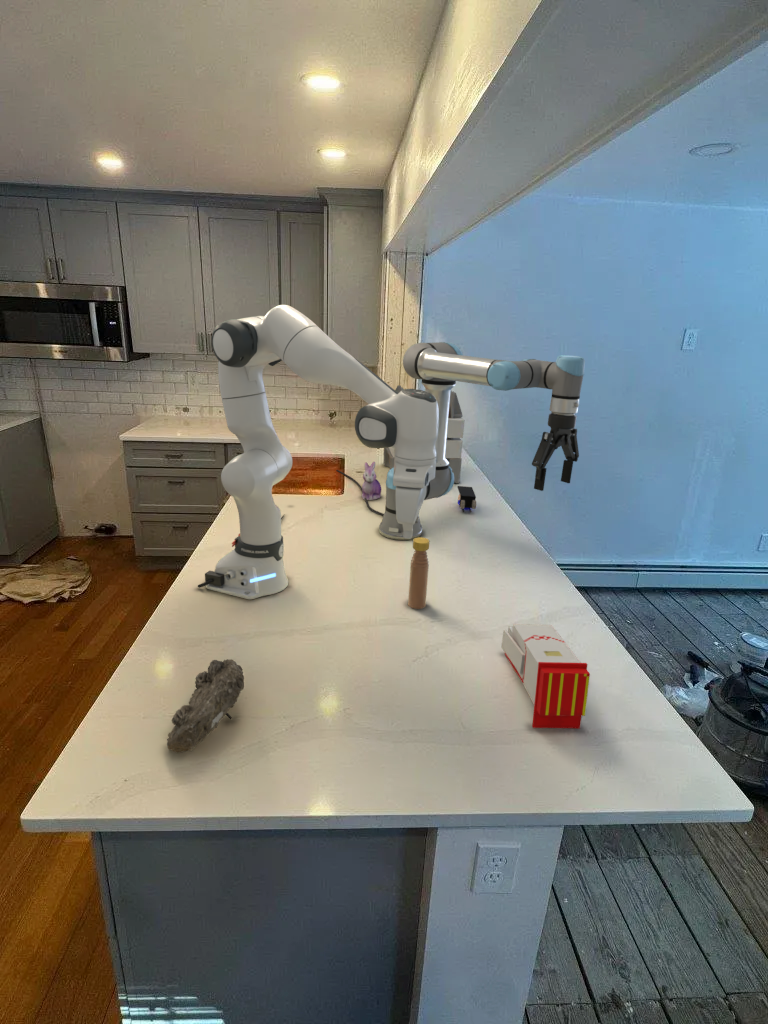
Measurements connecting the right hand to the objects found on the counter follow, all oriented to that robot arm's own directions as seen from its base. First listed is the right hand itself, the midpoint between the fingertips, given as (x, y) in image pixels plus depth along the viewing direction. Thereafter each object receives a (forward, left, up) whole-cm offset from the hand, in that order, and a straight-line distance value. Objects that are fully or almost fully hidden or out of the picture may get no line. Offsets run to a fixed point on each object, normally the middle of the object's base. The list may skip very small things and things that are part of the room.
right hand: (552, 485), depth 166 cm
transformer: (-101, +46, -28) cm, 115 cm away
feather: (-84, -40, -28) cm, 97 cm away
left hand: (+4, -61, +1) cm, 61 cm away
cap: (-8, -45, -10) cm, 46 cm away
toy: (+33, -48, -28) cm, 65 cm away
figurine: (-85, +3, -28) cm, 90 cm away
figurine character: (-53, +26, -28) cm, 65 cm away
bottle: (-8, -45, -28) cm, 53 cm away
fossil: (0, -107, -28) cm, 110 cm away
